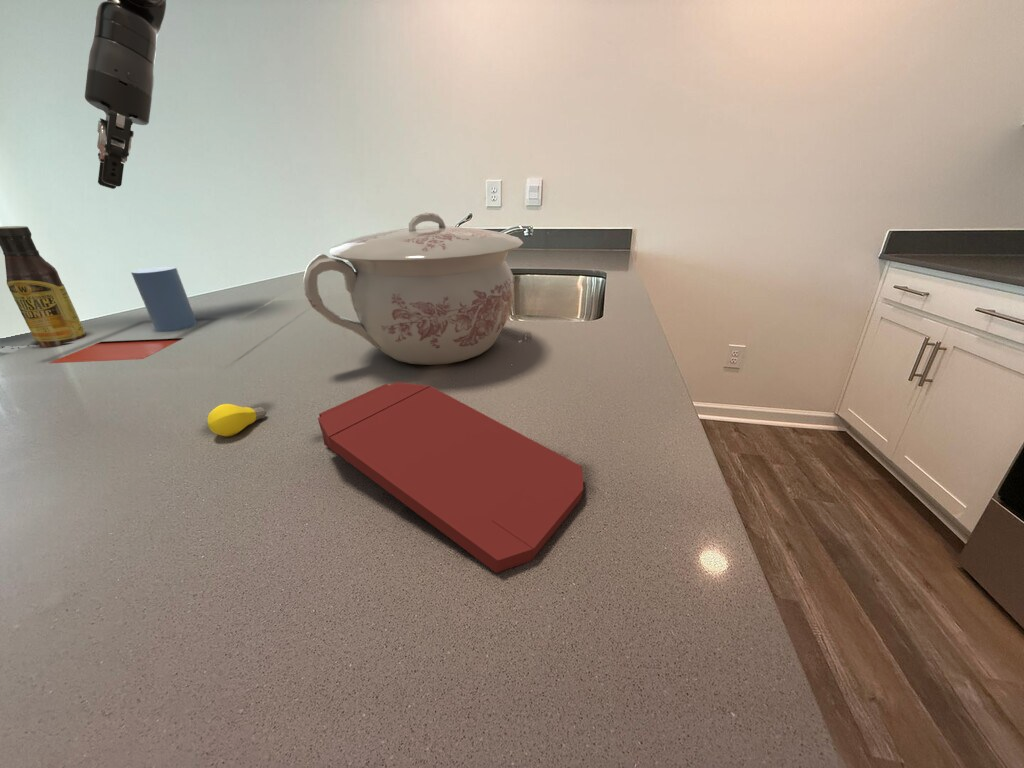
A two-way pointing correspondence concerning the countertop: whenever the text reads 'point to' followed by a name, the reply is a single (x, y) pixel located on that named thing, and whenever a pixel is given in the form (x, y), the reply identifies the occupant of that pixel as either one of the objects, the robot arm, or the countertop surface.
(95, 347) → the board
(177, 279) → the blue can
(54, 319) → the sauce bottle
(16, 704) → the countertop surface
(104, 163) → the robot arm
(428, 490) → the red chamfered slab
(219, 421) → the light bulb
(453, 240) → the chamber pot
